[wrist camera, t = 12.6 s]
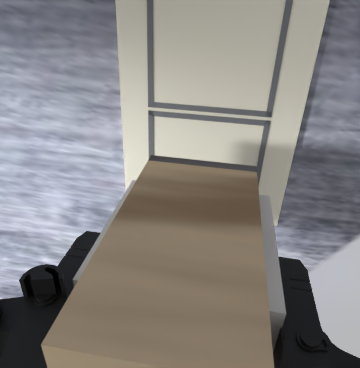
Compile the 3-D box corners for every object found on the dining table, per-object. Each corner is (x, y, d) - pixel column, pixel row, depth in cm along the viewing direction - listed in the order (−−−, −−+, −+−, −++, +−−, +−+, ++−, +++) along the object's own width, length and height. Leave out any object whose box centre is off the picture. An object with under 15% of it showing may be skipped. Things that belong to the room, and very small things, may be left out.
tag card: (127, 205, 22) (126, 207, 22) (115, -42, 15) (112, -43, 15) (276, 223, 21) (276, 226, 21) (336, -36, 14) (338, -37, 14)
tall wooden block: (151, 154, 16) (41, 344, 7) (256, 166, 15) (275, 388, 6) (151, 236, 18) (70, 449, 10) (242, 249, 18) (242, 488, 9)
